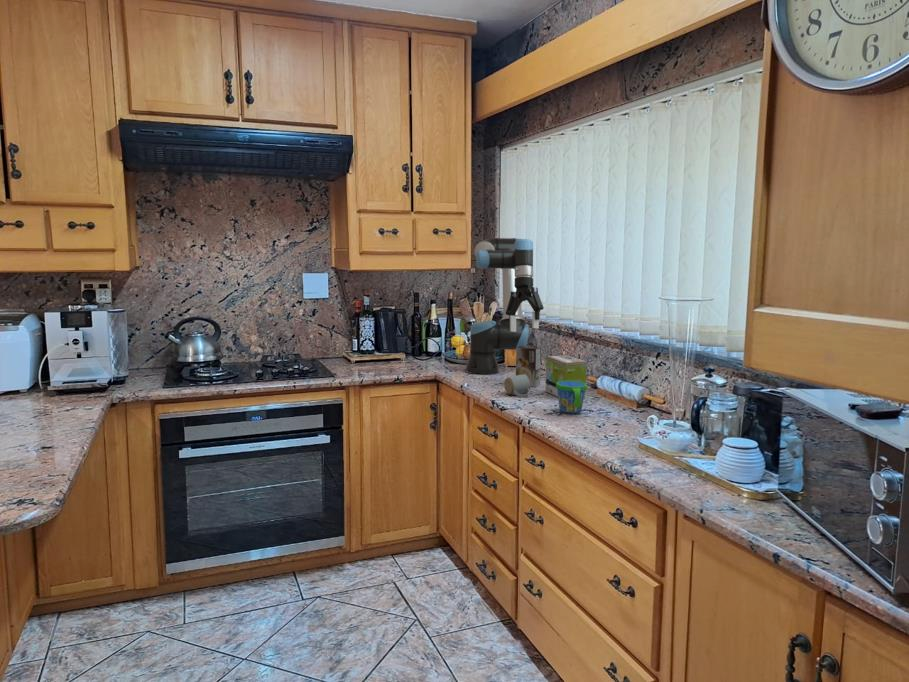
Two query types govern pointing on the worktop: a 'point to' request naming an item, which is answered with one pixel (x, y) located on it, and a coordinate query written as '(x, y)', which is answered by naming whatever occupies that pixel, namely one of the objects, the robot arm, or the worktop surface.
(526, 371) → the coffee box
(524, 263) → the robot arm
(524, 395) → the ceramic mug
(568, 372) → the tea box
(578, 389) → the snack cup
